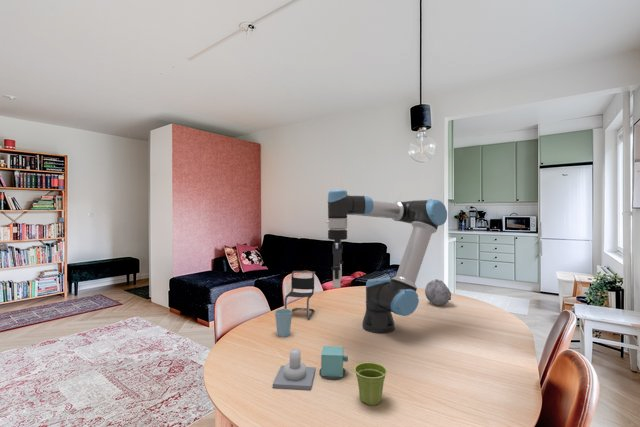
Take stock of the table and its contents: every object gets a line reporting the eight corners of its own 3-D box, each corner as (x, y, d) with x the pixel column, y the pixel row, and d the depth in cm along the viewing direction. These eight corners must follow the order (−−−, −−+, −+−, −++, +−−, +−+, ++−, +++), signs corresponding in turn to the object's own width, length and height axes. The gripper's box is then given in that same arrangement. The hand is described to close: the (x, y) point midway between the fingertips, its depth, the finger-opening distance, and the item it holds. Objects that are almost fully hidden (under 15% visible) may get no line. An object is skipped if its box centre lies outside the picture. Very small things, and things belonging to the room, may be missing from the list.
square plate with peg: (315, 370, 109) (315, 344, 109) (310, 390, 97) (310, 360, 97) (281, 368, 110) (281, 343, 110) (272, 387, 98) (272, 358, 98)
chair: (315, 310, 177) (315, 271, 177) (308, 320, 160) (308, 277, 160) (293, 309, 179) (293, 270, 179) (284, 319, 162) (284, 276, 162)
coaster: (346, 367, 111) (346, 365, 111) (345, 380, 102) (345, 378, 102) (320, 366, 112) (320, 364, 112) (317, 379, 103) (317, 377, 103)
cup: (294, 336, 140) (294, 312, 140) (277, 339, 137) (277, 315, 137) (289, 330, 147) (289, 308, 147) (273, 333, 144) (273, 310, 144)
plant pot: (351, 391, 97) (351, 362, 97) (381, 389, 97) (381, 361, 97) (357, 410, 87) (357, 378, 87) (391, 408, 88) (391, 377, 88)
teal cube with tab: (321, 375, 104) (321, 354, 104) (323, 365, 111) (323, 345, 111) (347, 377, 103) (347, 355, 103) (348, 366, 110) (348, 346, 110)
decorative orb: (455, 308, 180) (455, 282, 180) (429, 308, 180) (429, 282, 180) (445, 301, 194) (445, 277, 194) (421, 301, 195) (421, 277, 195)
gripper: (330, 227, 137) (330, 276, 137) (325, 231, 112) (325, 290, 112) (347, 227, 136) (347, 277, 136) (346, 231, 111) (346, 291, 111)
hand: (337, 283), depth 124 cm, fingers open, 13 cm apart
